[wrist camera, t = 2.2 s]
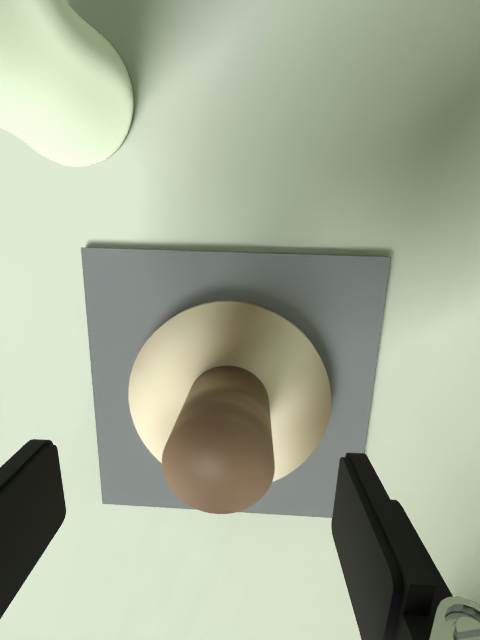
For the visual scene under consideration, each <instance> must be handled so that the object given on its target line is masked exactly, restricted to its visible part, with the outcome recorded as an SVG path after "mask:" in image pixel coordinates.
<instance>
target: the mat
mask: <svg viewBox="0 0 480 640" xmlns="http://www.w3.org/2000/svg"><path fill="white" fill-rule="evenodd" d="M81 253H82V265H83V277H84V289H85V301H86V313H87V324H88V336H89V348H90V360H91V372H92V384H93V395H94V407H95V419H96V431H97V443H98V455H99V466H100V478H101V490H102V502H103V504H117V505H133V506H149V507H166V508H182V509H195V508H193V507H191V506H189V505H188V504H186V503H184V502H183V501H182V500H181V499H179V498H178V497H177V496H176V495H175V494H174V493H173V491H172V490H171V489H170V487H169V486H168V484H167V482H166V480H165V477H164V474H163V470H162V463H161V462H159V461H158V460H157V458H156V457H155V456H154V455H153V454H152V453H151V452H150V451H149V450H148V448H147V447H146V446H145V444H144V443H143V441H142V440H141V438H140V436H139V434H138V432H137V430H136V428H135V425H134V423H133V420H132V416H131V413H130V407H129V400H128V392H129V381H130V375H131V371H132V368H133V365H134V362H135V360H136V358H137V356H138V354H139V352H140V350H141V349H142V347H143V346H144V344H145V342H146V341H147V340H148V339H149V338H150V337H151V336H152V334H153V333H154V332H155V331H156V330H157V329H159V328H160V327H161V326H162V325H163V324H164V323H166V322H167V321H168V320H169V319H171V318H172V317H174V316H175V315H177V314H178V313H180V312H182V311H184V310H186V309H189V308H191V307H193V306H197V305H200V304H203V303H208V302H214V301H227V300H233V301H244V302H249V303H253V304H257V305H260V306H263V307H266V308H269V309H271V310H273V311H275V312H277V313H279V314H281V315H282V316H284V317H285V318H287V319H288V320H290V321H291V322H292V323H294V324H295V325H296V326H297V327H298V328H299V329H300V330H301V331H302V332H303V333H304V334H305V335H306V337H307V338H308V339H309V340H310V341H311V343H312V345H313V346H314V348H315V349H316V351H317V353H318V354H319V356H320V358H321V360H322V362H323V364H324V367H325V369H326V372H327V375H328V379H329V383H330V390H331V410H330V416H329V421H328V424H327V427H326V430H325V432H324V435H323V437H322V439H321V441H320V443H319V444H318V446H317V447H316V448H315V450H314V451H313V453H312V454H311V455H310V456H309V457H308V458H307V459H306V461H305V462H303V463H302V464H301V465H300V466H299V467H298V468H296V469H295V470H294V471H292V472H291V473H289V474H288V475H286V476H284V477H282V478H280V479H278V480H276V481H274V482H272V484H271V486H270V488H269V489H268V491H267V492H266V494H265V495H264V496H263V497H262V498H261V499H260V500H259V501H258V502H257V503H255V504H254V505H252V506H251V507H249V508H246V509H244V510H241V511H239V512H247V513H263V514H279V515H295V516H311V517H328V518H332V515H333V508H334V500H335V492H336V484H337V477H338V469H339V461H340V458H341V457H345V455H346V453H364V452H365V444H366V437H367V430H368V422H369V415H370V408H371V400H372V393H373V386H374V378H375V371H376V364H377V356H378V349H379V342H380V334H381V327H382V320H383V312H384V305H385V298H386V290H387V283H388V276H389V268H390V261H391V257H375V256H342V255H309V254H277V253H244V252H212V251H179V250H146V249H114V248H81Z"/></svg>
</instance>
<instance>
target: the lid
mask: <svg viewBox="0 0 480 640" xmlns="http://www.w3.org/2000/svg"><path fill="white" fill-rule="evenodd" d="M128 400H129V407H130V413H131V416H132V420H133V423H134V425H135V428H136V430H137V432H138V434H139V436H140V438H141V440H142V441H143V443H144V444H145V446H146V447H147V448H148V450H149V451H150V452H151V453H152V454H153V455H154V456H155V457H156V458H157V460H158V461H159V462H161V463H162V470H163V474H164V477H165V480H166V482H167V484H168V486H169V487H170V489H171V490H172V491H173V493H174V494H175V495H176V496H177V497H178V498H179V499H181V500H182V501H183V502H184V503H186V504H188V505H189V506H191V507H193V508H195V509H198V510H201V511H204V512H208V513H215V514H228V513H234V512H239V511H241V510H244V509H246V508H249V507H251V506H252V505H254V504H255V503H257V502H258V501H259V500H260V499H261V498H262V497H263V496H264V495H265V494H266V492H267V491H268V489H269V488H270V486H271V484H272V482H274V481H276V480H278V479H280V478H282V477H284V476H286V475H288V474H289V473H291V472H292V471H294V470H295V469H296V468H298V467H299V466H300V465H301V464H302V463H303V462H305V461H306V459H307V458H308V457H309V456H310V455H311V454H312V453H313V451H314V450H315V448H316V447H317V446H318V444H319V443H320V441H321V439H322V437H323V435H324V432H325V430H326V427H327V424H328V421H329V416H330V410H331V390H330V383H329V379H328V375H327V372H326V369H325V367H324V364H323V362H322V360H321V358H320V356H319V354H318V353H317V351H316V349H315V348H314V346H313V345H312V343H311V341H310V340H309V339H308V338H307V337H306V335H305V334H304V333H303V332H302V331H301V330H300V329H299V328H298V327H297V326H296V325H295V324H294V323H292V322H291V321H290V320H288V319H287V318H285V317H284V316H282V315H281V314H279V313H277V312H275V311H273V310H271V309H269V308H266V307H263V306H260V305H257V304H253V303H249V302H244V301H233V300H227V301H214V302H208V303H203V304H200V305H197V306H193V307H191V308H189V309H186V310H184V311H182V312H180V313H178V314H177V315H175V316H174V317H172V318H171V319H169V320H168V321H167V322H166V323H164V324H163V325H162V326H161V327H160V328H159V329H157V330H156V331H155V332H154V333H153V334H152V336H151V337H150V338H149V339H148V340H147V341H146V342H145V344H144V346H143V347H142V349H141V350H140V352H139V354H138V356H137V358H136V360H135V362H134V365H133V368H132V371H131V375H130V381H129V392H128Z"/></svg>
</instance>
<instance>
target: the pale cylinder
mask: <svg viewBox="0 0 480 640" xmlns="http://www.w3.org/2000/svg"><path fill="white" fill-rule="evenodd" d="M133 106H134V100H133V90H132V85H131V81H130V78H129V75H128V72H127V70H126V67H125V65H124V63H123V61H122V60H121V58H120V56H119V55H118V53H117V52H116V50H115V49H114V48H113V47H112V45H111V44H110V43H109V42H108V41H107V40H106V39H105V38H104V37H103V36H102V35H101V34H100V33H98V32H97V31H96V30H95V29H94V28H92V27H91V26H90V25H89V24H88V23H87V22H85V21H84V20H83V19H82V18H81V17H80V16H79V15H78V14H77V13H76V12H75V11H74V10H73V9H72V8H71V6H70V5H69V4H68V3H67V1H66V0H0V128H3V129H5V130H7V131H9V132H11V133H12V134H14V135H15V136H17V137H18V138H19V139H21V140H22V141H23V142H25V143H26V144H27V145H29V146H30V147H31V148H33V149H34V150H35V151H37V152H38V153H40V154H41V155H43V156H44V157H46V158H48V159H50V160H52V161H54V162H56V163H59V164H62V165H66V166H72V167H84V166H90V165H94V164H97V163H99V162H101V161H103V160H105V159H107V158H108V157H109V156H111V155H112V154H113V153H114V152H115V151H116V150H117V149H118V148H119V147H120V145H121V144H122V142H123V141H124V139H125V137H126V135H127V133H128V131H129V128H130V125H131V121H132V116H133Z"/></svg>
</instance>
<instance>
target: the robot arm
mask: <svg viewBox="0 0 480 640" xmlns="http://www.w3.org/2000/svg"><path fill="white" fill-rule="evenodd" d="M65 515H66V507H65V500H64V492H63V485H62V478H61V471H60V464H59V457H58V450H57V447H56V445H53V443H52V441H50V440H36V439H33V440H30V441H28V442H27V443H26V444H25V445H24V446H23V447H22V448H21V449H20V450H19V451H18V452H16V453H15V454H14V455H13V456H12V457H11V458H10V459H9V460H8V461H7V462H6V463H5V464H4V465H2V466H1V467H0V619H1V617H2V615H3V614H4V612H5V611H6V609H7V608H8V606H9V605H10V603H11V602H12V600H13V599H14V597H15V595H16V594H17V592H18V591H19V589H20V588H21V586H22V585H23V583H24V582H25V580H26V579H27V577H28V575H29V574H30V572H31V571H32V569H33V568H34V566H35V565H36V563H37V562H38V560H39V559H40V557H41V555H42V554H43V552H44V551H45V549H46V548H47V546H48V545H49V543H50V542H51V540H52V539H53V537H54V535H55V534H56V532H57V531H58V529H59V528H60V526H61V525H62V523H63V521H64V518H65ZM332 534H333V538H334V542H335V546H336V549H337V553H338V556H339V560H340V563H341V567H342V571H343V574H344V578H345V581H346V585H347V588H348V592H349V596H350V599H351V603H352V606H353V610H354V613H355V617H356V621H357V624H358V628H359V631H360V635H361V639H362V640H480V605H479V604H477V603H475V602H473V601H471V600H469V599H465V598H461V597H453V596H452V594H451V592H450V591H449V589H448V587H447V585H446V583H445V582H444V580H443V578H442V576H441V575H440V573H439V571H438V569H437V568H436V566H435V564H434V562H433V560H432V559H431V557H430V555H429V553H428V552H427V550H426V548H425V546H424V545H423V543H422V541H421V539H420V538H419V536H418V534H417V532H416V530H415V529H414V527H413V525H412V523H411V522H410V520H409V518H408V516H407V515H406V513H405V511H404V509H403V507H402V506H401V505H400V503H399V502H398V501H396V500H390V498H389V496H388V494H387V492H386V491H385V489H384V487H383V485H382V483H381V481H380V479H379V477H378V476H377V474H376V472H375V470H374V468H373V466H372V464H371V463H370V461H369V459H368V457H367V455H366V454H364V453H346V455H345V457H341V458H340V461H339V469H338V477H337V484H336V492H335V500H334V508H333V515H332Z"/></svg>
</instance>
